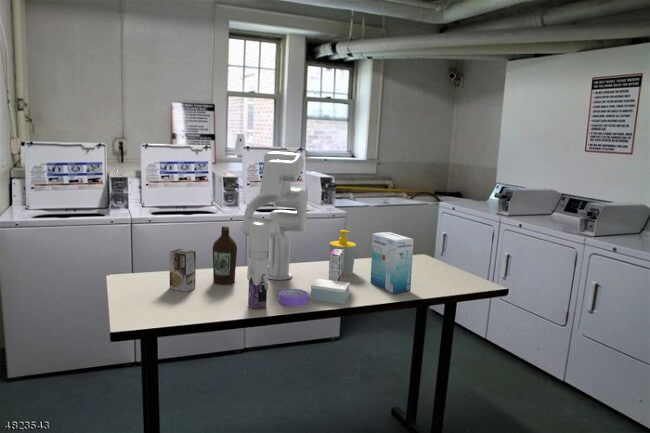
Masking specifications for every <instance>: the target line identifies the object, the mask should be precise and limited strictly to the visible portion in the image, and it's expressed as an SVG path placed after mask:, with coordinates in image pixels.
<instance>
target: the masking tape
mask: <svg viewBox="0 0 650 433" xmlns="http://www.w3.org/2000/svg"><path fill="white" fill-rule="evenodd" d="M308 301H309V293H308V292H307V291H306V290H305V289H304V290H303V289H300V288H299V289H298V288H285V289H283V290H280V291H279V292H278V302H279V304H281V305H283V306H287V307H301V306H302V307H303V306H305V305H307V304H308Z"/></svg>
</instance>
